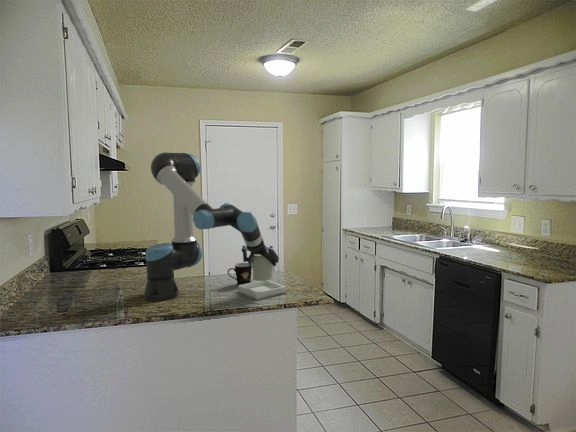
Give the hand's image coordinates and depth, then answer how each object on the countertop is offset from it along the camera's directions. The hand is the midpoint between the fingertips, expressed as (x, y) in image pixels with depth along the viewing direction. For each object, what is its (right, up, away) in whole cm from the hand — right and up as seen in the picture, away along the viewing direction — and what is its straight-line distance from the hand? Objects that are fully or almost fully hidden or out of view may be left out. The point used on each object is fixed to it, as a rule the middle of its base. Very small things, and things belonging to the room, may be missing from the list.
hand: (264, 268), depth 191 cm
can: (-1, -4, -3) cm, 5 cm away
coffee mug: (-12, -10, +12) cm, 20 cm away
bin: (-1, -11, -2) cm, 11 cm away
